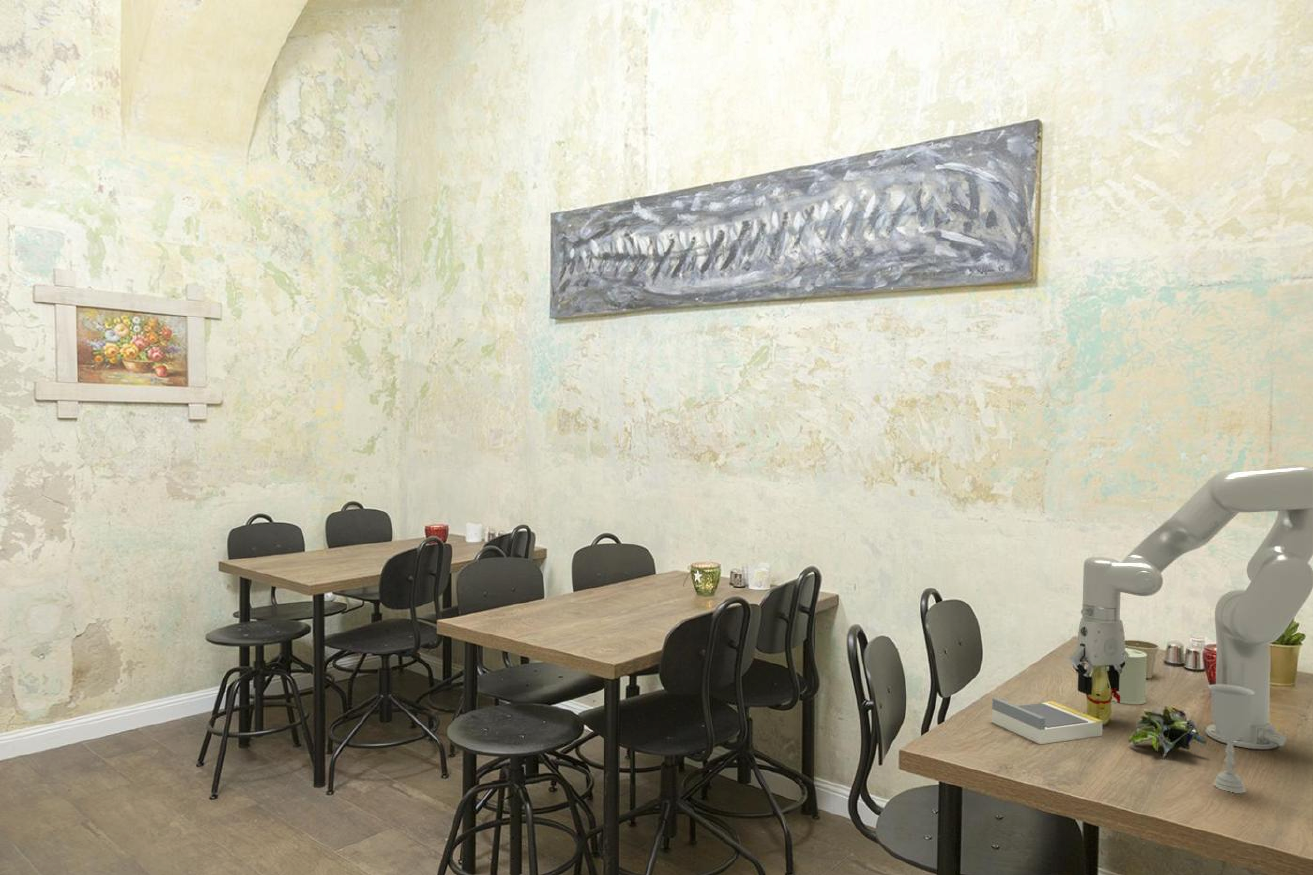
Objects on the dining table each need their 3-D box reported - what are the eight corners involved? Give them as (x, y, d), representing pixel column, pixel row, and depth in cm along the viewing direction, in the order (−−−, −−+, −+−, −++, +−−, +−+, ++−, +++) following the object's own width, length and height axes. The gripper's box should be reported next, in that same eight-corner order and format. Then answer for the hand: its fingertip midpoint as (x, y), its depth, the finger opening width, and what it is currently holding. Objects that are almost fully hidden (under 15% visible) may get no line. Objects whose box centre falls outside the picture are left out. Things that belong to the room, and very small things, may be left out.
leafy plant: (1173, 775, 176) (1215, 734, 173) (1165, 782, 168) (1209, 738, 165) (1125, 733, 183) (1164, 692, 180) (1114, 737, 174) (1156, 694, 172)
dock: (1102, 735, 184) (1102, 710, 184) (1040, 744, 178) (1040, 718, 178) (1051, 714, 197) (1051, 691, 197) (992, 722, 191) (992, 698, 191)
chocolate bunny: (1083, 725, 190) (1085, 658, 189) (1087, 711, 199) (1089, 647, 199) (1118, 731, 186) (1120, 663, 186) (1120, 717, 196) (1122, 652, 195)
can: (1154, 705, 205) (1155, 655, 205) (1115, 704, 205) (1116, 654, 205) (1133, 693, 214) (1134, 645, 214) (1096, 692, 214) (1097, 644, 214)
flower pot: (1123, 679, 227) (1123, 646, 227) (1115, 669, 236) (1115, 638, 236) (1163, 682, 224) (1163, 649, 224) (1153, 673, 233) (1154, 641, 233)
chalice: (1235, 779, 161) (1237, 684, 161) (1262, 795, 154) (1264, 695, 154) (1197, 779, 161) (1199, 684, 160) (1222, 795, 154) (1224, 695, 154)
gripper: (1084, 618, 186) (1082, 699, 186) (1144, 614, 192) (1141, 693, 192) (1057, 611, 193) (1055, 689, 193) (1115, 607, 199) (1113, 683, 199)
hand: (1098, 690), depth 193 cm, fingers closed on chocolate bunny, 7 cm apart
